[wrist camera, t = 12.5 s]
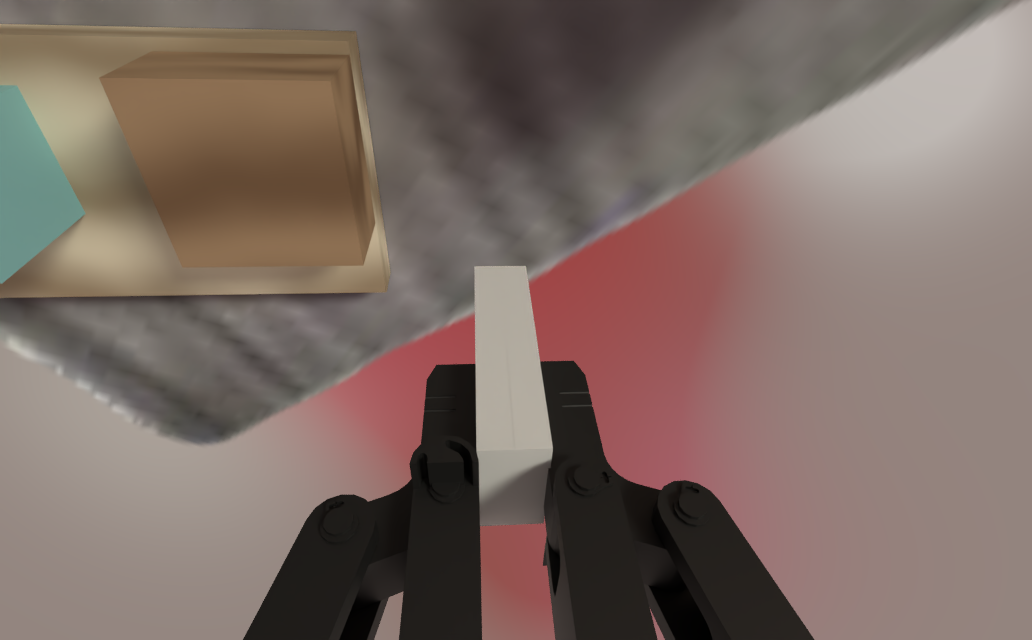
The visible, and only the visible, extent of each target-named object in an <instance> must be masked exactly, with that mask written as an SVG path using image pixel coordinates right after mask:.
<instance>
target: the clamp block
mask: <svg viewBox="0 0 1032 640" xmlns="http://www.w3.org/2000/svg"><path fill="white" fill-rule="evenodd" d="M99 79H100V82H101V84H102V86H103V88H104V91H105V93H106V95H107V97H108V100H109V102H110V104H111V107H112V109H113V111H114V113H115V116H116V118H117V120H118V122H119V125H120V127H121V129H122V132H123V134H124V136H125V138H126V141H127V143H128V145H129V147H130V150H131V152H132V154H133V157H134V159H135V161H136V163H137V166H138V168H139V170H140V173H141V175H142V177H143V179H144V182H145V184H146V186H147V188H148V191H149V193H150V195H151V198H152V200H153V202H154V204H155V207H156V209H157V211H158V213H159V216H160V218H161V220H162V223H163V225H164V227H165V229H166V232H167V234H168V236H169V238H170V241H171V243H172V245H173V248H174V250H175V252H176V254H177V257H178V259H179V261H180V263H181V266H182V268H190V267H281V266H364V262H365V258H366V255H367V251H368V248H369V244H370V241H371V237H372V234H373V230H374V227H375V217H374V210H373V204H372V197H371V191H370V184H369V178H368V171H367V165H366V158H365V152H364V145H363V139H362V132H361V126H360V119H359V113H358V106H357V100H356V93H355V87H354V80H353V74H352V67H351V61H350V55H332V54H276V53H219V52H163V51H151V52H149V53H147V54H145V55H143V56H141V57H139V58H137V59H135V60H133V61H131V62H129V63H127V64H125V65H123V66H121V67H119V68H117V69H115V70H113V71H111V72H109V73H107V74H105V75H103V76H101V77H99Z"/></svg>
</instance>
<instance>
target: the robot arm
mask: <svg viewBox="0 0 1032 640" xmlns="http://www.w3.org/2000/svg"><path fill="white" fill-rule="evenodd" d="M475 344H476V345H475V350H476V353H475V354H476V364H457V365H455V364H454V365H436V367H435V368H434V370H433V371H432V373H431V374H430V376H429V377H428V379H427V385H426V386H427V387H426V399H425V408H424V419H423V430H422V440H421V445H420V446H419V447H418V448H417V449H416V450H415V451H414V453H413V455H412V458H411V461H410V470H411V477H412V479H411V480H410V481H409V483H408V484H407V485H405V486H404V487H403V488H401V489H400V490H398V491H396V492H394V493H392V494H390V495H387V496H384V497H381V498H378V499H375V500H372V501H369V502H367V500H365V499H364V498H361V497H359V496H356V495H339V496H336V497H333V498H330V499H327V500H326V501H324V502H323V503H321V504H320V505H319V506H317V507H316V508H315V509H314V510H313V512H312V513H311V514H310V516H309V517H308V518H307V520H306V522H305V523H304V525H303V527H302V529H301V531H300V533H299V535H298V537H297V539H296V540H295V543H294V544H293V546H292V548H291V550H290V552H289V554H288V556H287V558H286V559H285V561H284V563H283V565H282V567H281V569H280V571H279V573H278V575H277V577H276V578H275V580H274V583H273V584H272V586H271V588H270V590H269V592H268V594H267V596H266V597H265V599H264V601H263V603H262V605H261V607H260V609H259V611H258V613H257V615H256V616H255V618H254V620H253V622H252V624H251V626H250V628H249V630H248V631H247V633H246V635H245V637H244V639H243V640H374V638H375V635H376V632H377V629H378V627H379V624H380V621H381V618H382V615H383V612H384V609H385V606H386V604H387V601H388V598H389V597H390V596H393V595H395V594H398V593H400V592H402V591H404V593H403V603H402V614H401V624H400V625H401V626H400V635H399V640H482V623H481V622H482V616H481V567H480V565H481V562H480V561H481V560H480V526H492V525H516V524H538V523H543V522H544V515H545V522H546V531H547V537H546V544H545V552H544V560H543V566H545V565H547V567H548V576H549V586H550V594H551V603H552V613H553V621H554V630H555V639H556V640H657V636H656V632H655V628H654V624H653V620H652V616H651V612H650V609H651V611H652V613H653V615H654V617H655V619H656V622H657V624H658V626H659V628H660V630H661V632H662V634H663V636H664V638H665V640H814V639H813V637H812V636H811V634H810V633H809V631H808V630H807V628H806V627H805V625H804V624H803V622H802V621H801V619H800V618H799V616H798V615H797V614H796V612H795V611H794V609H793V608H792V606H791V605H790V603H789V602H788V600H787V599H786V597H785V596H784V594H783V593H782V592H781V590H780V589H779V587H778V586H777V584H776V583H775V581H774V580H773V578H772V577H771V575H770V574H769V572H768V571H767V570H766V568H765V567H764V565H763V564H762V562H761V561H760V559H759V558H758V556H757V555H756V553H755V552H754V551H753V549H752V548H751V546H750V545H749V543H748V542H747V540H746V539H745V537H744V536H743V534H742V533H741V532H740V530H739V528H738V527H737V526H736V524H735V523H734V521H733V520H732V518H731V517H730V515H729V514H728V512H727V511H726V509H725V508H724V506H723V505H722V504H721V502H720V501H719V500H718V499H717V498H716V497H715V495H714V494H713V493H712V492H711V491H710V490H708V489H706V488H705V487H703V486H701V485H700V484H698V483H694V482H690V481H685V480H684V481H673V482H671V483H669V484H668V485H666V486H664V487H663V489H662V490H658V489H654V488H650V487H647V486H643V485H639V484H636V483H633V482H630V481H628V480H626V479H624V478H623V477H621V476H620V475H618V474H617V473H616V472H615V471H614V470H613V469H612V468H611V466H610V465H609V464H608V462H607V460H606V458H605V456H604V452H603V448H602V443H601V439H600V435H599V431H598V427H597V423H596V419H595V414H594V410H593V407H592V402H591V398H590V394H589V389H588V385H587V381H586V377H585V374H584V373H583V372H582V371H581V369H580V368H579V367H578V366H577V364H576V363H575V362H574V361H547V362H546V361H544V362H540V358H539V352H538V345H537V338H536V331H535V325H534V318H533V312H532V304H531V298H530V291H529V284H528V278H527V271H526V266H475ZM649 607H650V608H649Z"/></svg>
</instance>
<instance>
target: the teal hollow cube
mask: <svg viewBox="0 0 1032 640" xmlns="http://www.w3.org/2000/svg"><path fill="white" fill-rule="evenodd" d="M85 214H86V213H85V211H84V209H83V208H82V206H81V204H80V202H79V200H78V198H77V196H76V194H75V193H74V191H73V189H72V187H71V185H70V183H69V181H68V180H67V178H66V176H65V174H64V172H63V170H62V168H61V167H60V165H59V163H58V161H57V159H56V157H55V155H54V153H53V152H52V150H51V148H50V146H49V144H48V142H47V140H46V139H45V137H44V135H43V133H42V131H41V129H40V127H39V125H38V124H37V122H36V120H35V118H34V116H33V114H32V112H31V111H30V109H29V107H28V105H27V103H26V101H25V99H24V98H23V96H22V94H21V92H20V90H19V88H18V86H17V85H0V284H2V283H3V282H5V281H6V280H7V279H8V278H9V277H11V276H12V275H13V274H14V273H15V272H17V271H18V270H19V269H20V268H21V267H23V266H24V265H25V264H26V263H27V262H29V261H30V260H31V259H32V258H33V257H35V256H36V255H37V254H38V253H39V252H40V251H42V250H43V249H44V248H45V247H46V246H48V245H49V244H50V243H51V242H52V241H54V240H55V239H56V238H57V237H58V236H60V235H61V234H62V233H63V232H64V231H66V230H67V229H68V228H69V227H70V226H72V225H73V224H74V223H75V222H76V221H78V220H79V219H80V218H81V217H82V216H84V215H85Z"/></svg>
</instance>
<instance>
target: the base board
mask: <svg viewBox="0 0 1032 640" xmlns="http://www.w3.org/2000/svg"><path fill="white" fill-rule="evenodd" d="M151 51H163V52H219V53H276V54H332V55H350V61H351V67H352V74H353V80H354V87H355V93H356V100H357V106H358V113H359V119H360V126H361V132H362V139H363V145H364V152H365V158H366V165H367V171H368V178H369V184H370V191H371V197H372V204H373V210H374V217H375V227H374V230H373V234H372V237H371V241H370V244H369V248H368V251H367V255H366V258H365V262H364V266H281V267H190V268H182V266H181V263H180V261H179V259H178V257H177V254H176V252H175V250H174V248H173V245H172V243H171V241H170V238H169V236H168V234H167V232H166V229H165V227H164V225H163V223H162V220H161V218H160V216H159V213H158V211H157V209H156V207H155V204H154V202H153V200H152V198H151V195H150V193H149V191H148V188H147V186H146V184H145V182H144V179H143V177H142V175H141V173H140V170H139V168H138V166H137V163H136V161H135V159H134V157H133V154H132V152H131V150H130V147H129V145H128V143H127V141H126V138H125V136H124V134H123V132H122V129H121V127H120V125H119V122H118V120H117V118H116V116H115V113H114V111H113V109H112V107H111V104H110V102H109V100H108V97H107V95H106V93H105V91H104V88H103V86H102V84H101V82H100V79H99V77H101V76H103V75H105V74H107V73H109V72H111V71H113V70H115V69H117V68H119V67H121V66H123V65H125V64H127V63H129V62H131V61H133V60H135V59H137V58H139V57H141V56H143V55H145V54H147V53H149V52H151ZM0 85H17V86H18V88H19V90H20V92H21V94H22V96H23V98H24V99H25V101H26V103H27V105H28V107H29V109H30V111H31V112H32V114H33V116H34V118H35V120H36V122H37V124H38V125H39V127H40V129H41V131H42V133H43V135H44V137H45V139H46V140H47V142H48V144H49V146H50V148H51V150H52V152H53V153H54V155H55V157H56V159H57V161H58V163H59V165H60V167H61V168H62V170H63V172H64V174H65V176H66V178H67V180H68V181H69V183H70V185H71V187H72V189H73V191H74V193H75V194H76V196H77V198H78V200H79V202H80V204H81V206H82V208H83V209H84V211H85V213H86V214H85V215H84V216H82V217H81V218H80V219H79V220H78V221H76V222H75V223H74V224H73V225H72V226H70V227H69V228H68V229H67V230H66V231H64V232H63V233H62V234H61V235H60V236H58V237H57V238H56V239H55V240H54V241H52V242H51V243H50V244H49V245H48V246H46V247H45V248H44V249H43V250H42V251H40V252H39V253H38V254H37V255H36V256H35V257H33V258H32V259H31V260H30V261H29V262H27V263H26V264H25V265H24V266H23V267H21V268H20V269H19V270H18V271H17V272H15V273H14V274H13V275H12V276H11V277H9V278H8V279H7V280H6V281H5V282H3V283H2V284H0V298H25V297H94V296H162V295H230V294H298V293H367V292H387V287H388V282H389V278H390V266H389V259H388V252H387V245H386V238H385V231H384V224H383V217H382V210H381V203H380V196H379V189H378V182H377V175H376V168H375V161H374V154H373V147H372V140H371V133H370V126H369V119H368V112H367V105H366V98H365V91H364V84H363V77H362V70H361V63H360V56H359V49H358V42H357V35H356V31H312V30H265V29H217V28H170V27H122V26H74V25H27V24H0Z"/></svg>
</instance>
